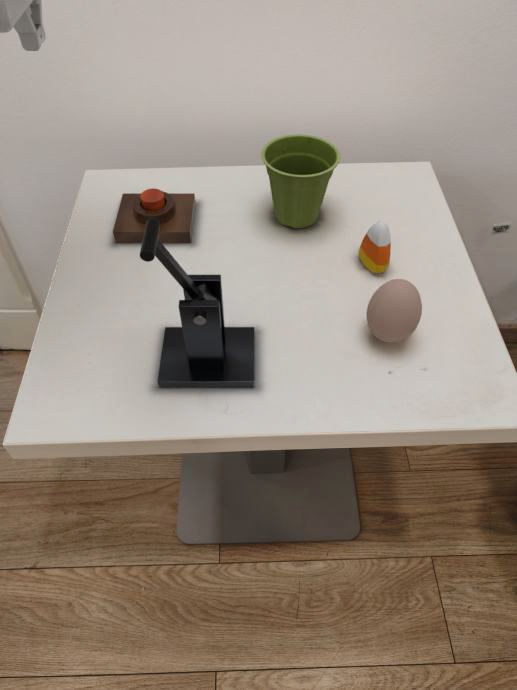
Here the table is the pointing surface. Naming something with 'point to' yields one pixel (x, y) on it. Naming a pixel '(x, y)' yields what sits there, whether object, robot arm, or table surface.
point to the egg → (394, 310)
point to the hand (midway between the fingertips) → (35, 45)
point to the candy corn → (376, 248)
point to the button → (152, 199)
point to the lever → (170, 263)
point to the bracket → (206, 345)
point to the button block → (171, 217)
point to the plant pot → (299, 176)
